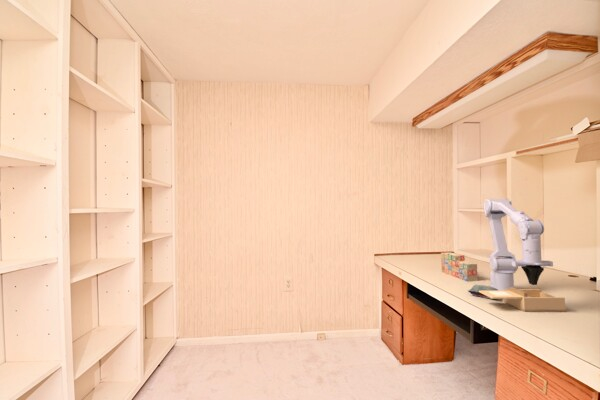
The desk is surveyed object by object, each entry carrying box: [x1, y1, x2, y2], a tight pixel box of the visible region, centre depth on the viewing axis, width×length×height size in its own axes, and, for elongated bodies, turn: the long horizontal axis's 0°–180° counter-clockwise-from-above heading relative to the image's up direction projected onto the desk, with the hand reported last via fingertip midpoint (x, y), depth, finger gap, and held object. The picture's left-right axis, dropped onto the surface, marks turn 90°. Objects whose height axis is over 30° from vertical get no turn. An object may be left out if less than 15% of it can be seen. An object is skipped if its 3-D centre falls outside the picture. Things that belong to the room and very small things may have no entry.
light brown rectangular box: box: [503, 288, 566, 313], centre depth 107 cm, size 11×15×5 cm
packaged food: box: [467, 284, 498, 300], centre depth 119 cm, size 9×12×5 cm
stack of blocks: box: [440, 251, 478, 282], centre depth 154 cm, size 21×6×12 cm, turn 7°
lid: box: [479, 286, 530, 300], centre depth 107 cm, size 8×15×2 cm, turn 87°
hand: (532, 284), depth 107 cm, fingers closed
